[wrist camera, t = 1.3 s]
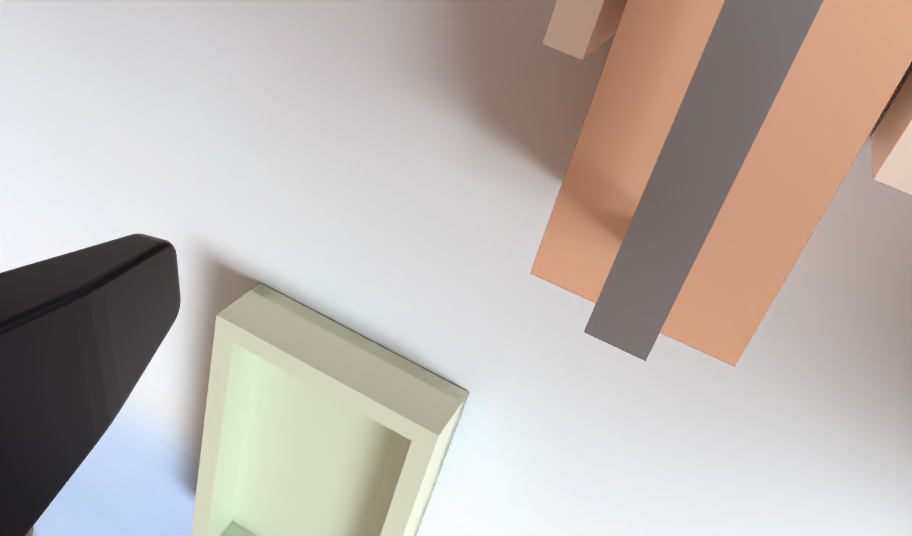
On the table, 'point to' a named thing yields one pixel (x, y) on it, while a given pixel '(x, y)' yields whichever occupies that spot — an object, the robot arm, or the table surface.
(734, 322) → the tall peach cuboid
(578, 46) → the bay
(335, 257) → the table surface
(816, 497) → the table surface
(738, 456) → the table surface
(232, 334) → the tray
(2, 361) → the robot arm
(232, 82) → the table surface
